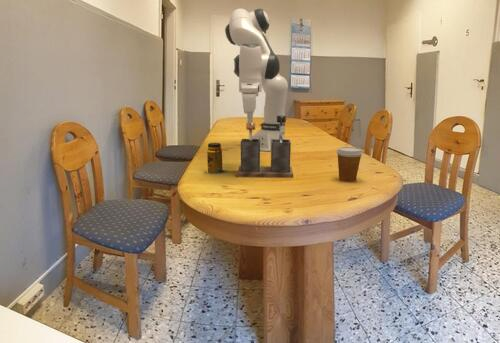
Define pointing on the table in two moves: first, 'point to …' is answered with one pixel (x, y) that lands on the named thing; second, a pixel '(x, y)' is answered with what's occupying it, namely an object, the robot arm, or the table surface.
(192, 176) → the table surface
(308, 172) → the table surface
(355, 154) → the disposable coffee cup
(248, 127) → the plunger left
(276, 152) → the stand
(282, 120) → the plunger right
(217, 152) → the condiment
